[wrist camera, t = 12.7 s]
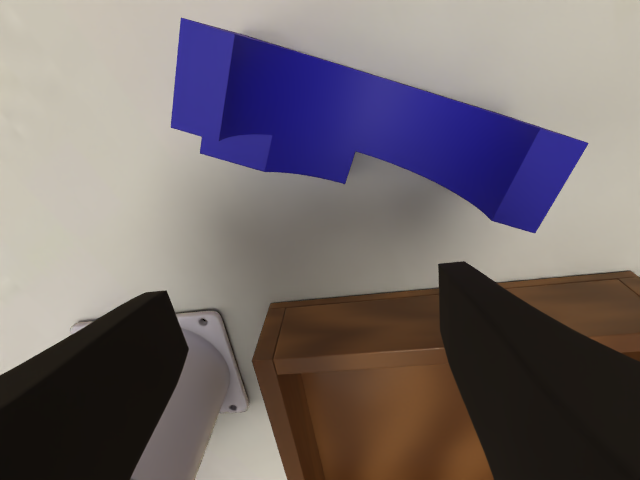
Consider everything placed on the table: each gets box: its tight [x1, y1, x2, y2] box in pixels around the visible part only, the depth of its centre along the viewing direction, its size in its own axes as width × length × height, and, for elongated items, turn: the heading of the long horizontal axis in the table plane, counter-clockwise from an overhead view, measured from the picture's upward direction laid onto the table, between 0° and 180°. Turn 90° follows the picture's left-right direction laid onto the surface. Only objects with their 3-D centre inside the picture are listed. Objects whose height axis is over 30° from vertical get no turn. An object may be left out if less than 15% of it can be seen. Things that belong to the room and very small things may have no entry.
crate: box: [252, 271, 640, 480], centre depth 22 cm, size 19×19×5 cm
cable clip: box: [171, 18, 588, 233], centre depth 14 cm, size 12×4×6 cm, turn 74°
